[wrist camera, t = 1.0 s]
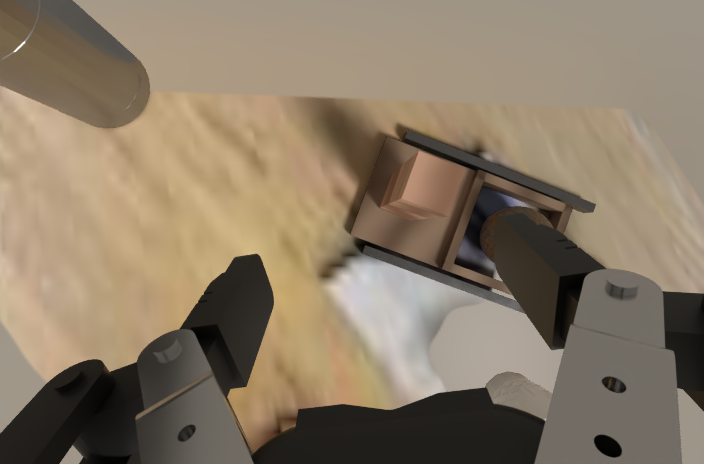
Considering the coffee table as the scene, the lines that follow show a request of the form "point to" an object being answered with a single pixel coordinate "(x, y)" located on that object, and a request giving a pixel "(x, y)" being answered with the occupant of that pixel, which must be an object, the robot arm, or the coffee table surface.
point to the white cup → (519, 394)
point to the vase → (489, 226)
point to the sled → (433, 206)
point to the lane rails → (489, 168)
